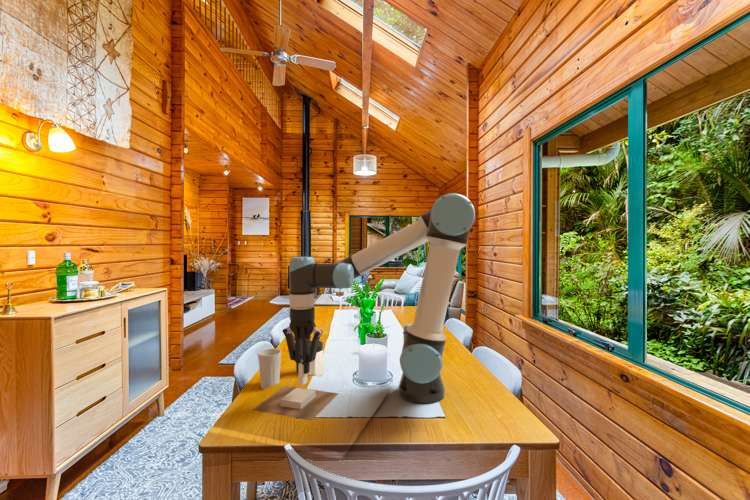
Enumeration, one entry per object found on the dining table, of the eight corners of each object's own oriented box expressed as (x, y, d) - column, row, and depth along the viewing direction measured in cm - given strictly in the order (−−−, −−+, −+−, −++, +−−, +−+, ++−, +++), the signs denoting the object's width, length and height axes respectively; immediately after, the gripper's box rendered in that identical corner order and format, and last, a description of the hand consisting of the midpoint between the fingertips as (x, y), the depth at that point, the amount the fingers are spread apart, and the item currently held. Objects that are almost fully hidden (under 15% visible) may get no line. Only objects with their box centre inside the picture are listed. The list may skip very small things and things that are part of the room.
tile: (315, 390, 112) (296, 387, 115) (300, 402, 104) (280, 399, 106) (315, 396, 112) (296, 393, 115) (300, 409, 104) (280, 406, 106)
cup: (275, 391, 120) (274, 356, 119) (253, 389, 121) (253, 354, 121) (285, 382, 128) (285, 349, 127) (265, 380, 129) (265, 348, 129)
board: (338, 397, 115) (338, 393, 115) (311, 424, 98) (311, 420, 98) (285, 389, 121) (285, 385, 121) (251, 413, 104) (251, 409, 104)
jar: (299, 372, 137) (298, 341, 137) (319, 368, 141) (319, 339, 140) (303, 380, 129) (303, 347, 129) (325, 376, 132) (325, 345, 132)
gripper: (326, 306, 110) (327, 381, 110) (290, 303, 114) (291, 376, 114) (315, 310, 102) (316, 391, 103) (276, 308, 107) (277, 385, 107)
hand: (303, 383), depth 109 cm, fingers closed
